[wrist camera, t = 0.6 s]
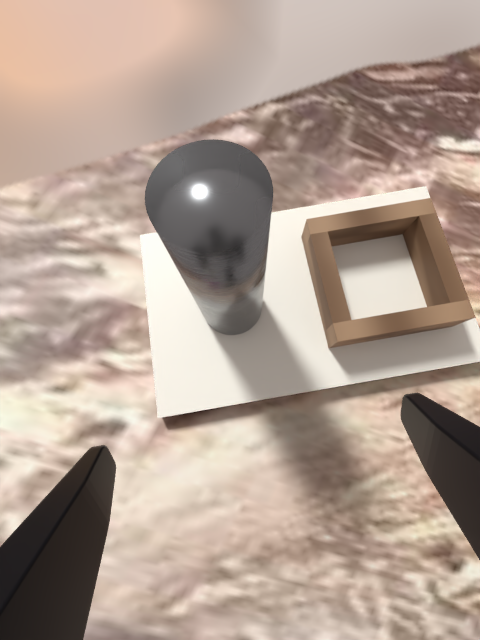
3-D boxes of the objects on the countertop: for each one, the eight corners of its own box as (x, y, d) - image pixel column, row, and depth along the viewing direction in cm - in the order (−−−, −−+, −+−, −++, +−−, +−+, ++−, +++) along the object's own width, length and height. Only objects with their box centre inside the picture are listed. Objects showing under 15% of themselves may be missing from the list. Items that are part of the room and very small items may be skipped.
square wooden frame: (413, 217, 25) (430, 197, 22) (451, 326, 23) (475, 317, 20) (301, 237, 25) (306, 219, 22) (328, 348, 22) (337, 341, 20)
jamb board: (419, 194, 26) (425, 186, 25) (480, 361, 23) (491, 359, 22) (144, 241, 26) (139, 235, 25) (161, 417, 23) (157, 418, 22)
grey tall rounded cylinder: (274, 307, 23) (300, 194, 11) (229, 347, 23) (200, 277, 10) (234, 266, 24) (215, 118, 12) (190, 303, 24) (119, 190, 11)
